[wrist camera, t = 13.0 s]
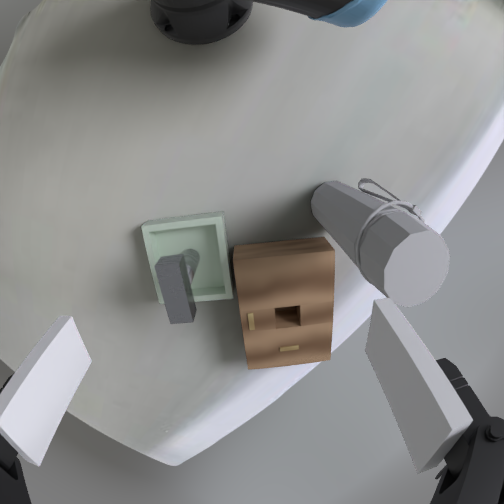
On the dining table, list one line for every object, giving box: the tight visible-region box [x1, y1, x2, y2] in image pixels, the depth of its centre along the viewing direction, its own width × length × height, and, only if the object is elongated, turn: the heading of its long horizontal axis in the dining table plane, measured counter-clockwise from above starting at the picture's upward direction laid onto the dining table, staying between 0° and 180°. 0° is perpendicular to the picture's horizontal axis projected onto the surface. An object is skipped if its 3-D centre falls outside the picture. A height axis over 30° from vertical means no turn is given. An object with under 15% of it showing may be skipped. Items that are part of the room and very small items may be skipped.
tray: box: [141, 211, 234, 304], centre depth 44 cm, size 13×12×3 cm
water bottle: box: [311, 178, 450, 307], centre depth 31 cm, size 9×8×25 cm
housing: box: [233, 237, 335, 370], centre depth 46 cm, size 20×14×6 cm
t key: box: [154, 249, 200, 324], centre depth 40 cm, size 3×8×12 cm, turn 7°
